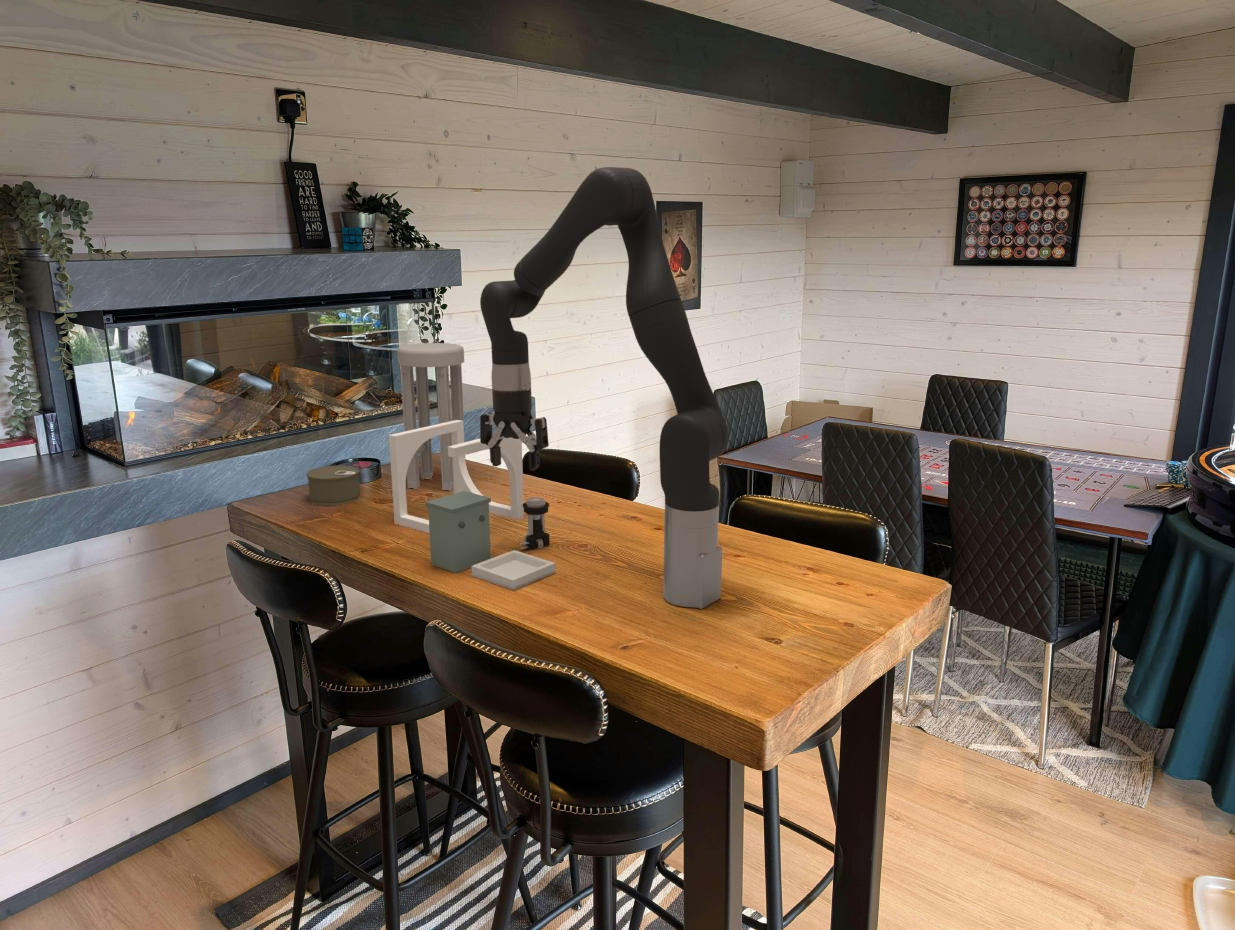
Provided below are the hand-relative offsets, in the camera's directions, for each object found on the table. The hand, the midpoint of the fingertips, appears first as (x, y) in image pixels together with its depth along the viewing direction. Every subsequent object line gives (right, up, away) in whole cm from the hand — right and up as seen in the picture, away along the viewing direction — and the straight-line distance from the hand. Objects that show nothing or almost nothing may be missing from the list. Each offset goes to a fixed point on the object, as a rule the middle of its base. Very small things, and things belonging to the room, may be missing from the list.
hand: (515, 467), depth 174 cm
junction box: (-10, -18, -3) cm, 21 cm away
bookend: (-15, -12, +22) cm, 29 cm away
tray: (+1, -20, -9) cm, 22 cm away
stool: (-26, -5, +51) cm, 57 cm away
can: (-48, -8, +38) cm, 61 cm away
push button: (+3, -16, +5) cm, 18 cm away
